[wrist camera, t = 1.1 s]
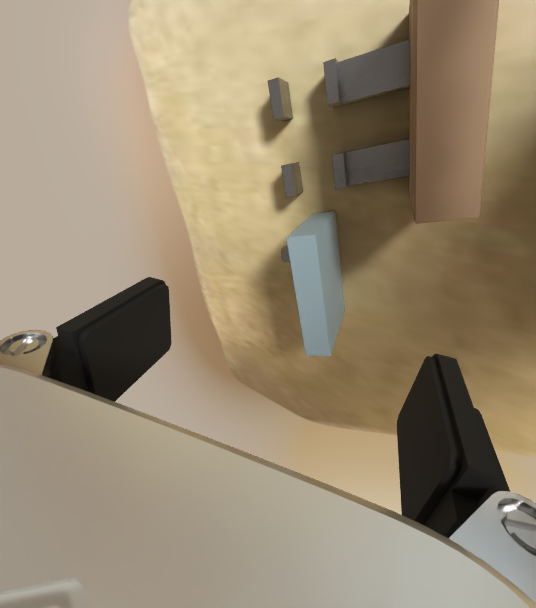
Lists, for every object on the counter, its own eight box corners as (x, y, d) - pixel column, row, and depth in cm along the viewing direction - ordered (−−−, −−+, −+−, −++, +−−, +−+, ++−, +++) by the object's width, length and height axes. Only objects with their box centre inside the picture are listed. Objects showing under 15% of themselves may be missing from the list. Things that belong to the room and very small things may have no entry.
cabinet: (460, -6, 23) (509, -116, 13) (450, 189, 29) (479, 216, 19) (408, 12, 24) (417, -75, 14) (409, 195, 30) (415, 223, 20)
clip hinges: (408, 44, 25) (410, 33, 23) (409, 174, 29) (410, 177, 27) (278, 85, 30) (267, 80, 27) (294, 193, 34) (286, 197, 31)
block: (335, 210, 33) (315, 234, 25) (344, 309, 38) (330, 356, 30) (302, 215, 34) (273, 239, 26) (315, 309, 39) (294, 354, 31)
